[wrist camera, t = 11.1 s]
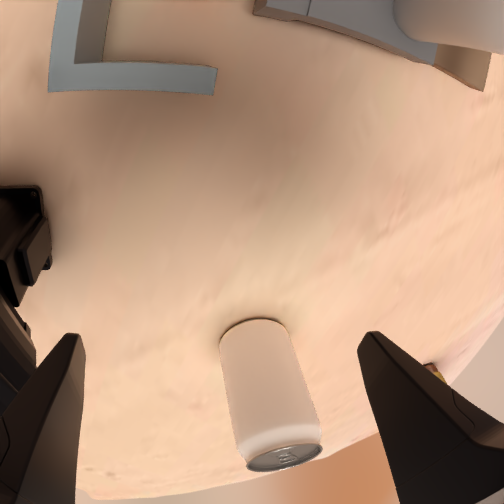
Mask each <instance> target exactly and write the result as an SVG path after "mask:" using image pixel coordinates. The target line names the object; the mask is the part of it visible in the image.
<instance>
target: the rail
mask: <svg viewBox="0 0 504 504" xmlns="http://www.w3.org/2000/svg"><path fill="white" fill-rule="evenodd" d="M491 54H492V53H491V52H488V51H483V50H478V49H473V48H467V47H461V46H454V45H447V44H440V43H438V46H437V51H436V55H435V60H434V64H433V65H431V66H433V67H435V68H437V69H439V70H441V71H443V72H444V73H446V74H448V75H450V76H452V77H453V78H455V79H457V80H459V81H460V82H462V83H464V84H465V85H467V86H469V87H470V88H472V89H476V90H479V91H482V92H483V91H484V87H485V82H486V78H487V73H488V69H489V64H490V59H491Z"/></svg>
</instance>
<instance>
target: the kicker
mask: <svg viewBox="0 0 504 504" xmlns="http://www.w3.org/2000/svg"><path fill="white" fill-rule="evenodd" d="M253 14H255V15H260V16H265V17H270V18H274V19H279V20H283V21H291V20H294V19H296V20H300V21H303V22H307V23H311V24H314V25H318V26H321V27H324V28H328V29H331V30H334V31H337V32H340V33H343V34H346V35H349V36H352V37H355V38H357V39H360V40H363V41H365V42H368V43H371V44H373V45H376V46H378V47H381V48H383V49H386V50H388V51H390V52H393V53H395V54H397V55H400V56H402V57H404V58H406V59H408V60H411V61H413V62H418V63H423V64H429V65H433V64H434V60H435V55H436V51H437V46H438V43H440V44H447V45H454V46H461V47H467V48H473V49H478V50H483V51H488V52H493V53H497V54H502V55H504V0H256V1H255V6H254V10H253Z"/></svg>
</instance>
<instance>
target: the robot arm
mask: <svg viewBox="0 0 504 504" xmlns="http://www.w3.org/2000/svg"><path fill="white" fill-rule="evenodd" d="M32 192H35V193H36V195H37V196H34V195H33V193H32ZM51 250H52V245H51V239H50V233H49V227H48V219H47V218H46V216H45V215H44V207H43V199H42V192H41V189H40V188H39V187H38V186H0V504H75V487H76V470H77V457H78V446H79V437H80V428H81V420H82V412H83V402H84V378H85V361H86V354H85V349H84V346H83V342H82V339H81V336H80V335H79V334H78V333H66V334H65V335H64V336H63V337H62V338H61V340H60V341H59V342H58V343H57V344H56V346H55V347H54V348H53V349H52V350H51V352H50V353H49V354H48V355H47V357H46V358H45V359H44V360H43V362H42V363H41V364H40V365H39V367H38V368H37V367H36V349H35V347H34V344H33V341H32V340H31V332H30V328H29V326H28V325H27V323H26V322H24V321H23V320H22V318H21V317H20V316H19V314H18V313H17V311H16V309H15V308H14V307H19V306H20V303H21V301H22V299H23V297H24V294H25V292H26V290H27V288H28V286H33V285H34V284H35V283H36V280H37V278H38V276H39V274H40V272H41V270H49V269H50V268H51V265H52V258H51V253H50V252H51ZM45 262H46V263H47V264H45ZM357 354H358V359H359V363H360V367H361V371H362V376H363V380H364V385H365V389H366V392H367V396H368V399H369V402H370V405H371V408H372V411H373V414H374V417H375V420H376V423H377V426H378V430H379V433H380V436H381V439H382V442H383V446H384V449H385V452H386V456H387V459H388V462H389V466H390V469H391V472H392V476H393V480H394V483H395V486H396V491H397V494H398V498H399V502H400V504H504V424H503V423H501V422H499V421H498V420H496V419H495V418H493V417H492V416H490V415H489V414H487V413H486V412H484V411H483V410H481V409H480V408H478V407H477V406H475V405H474V404H472V403H471V402H469V401H468V400H467V399H465V398H464V397H463V396H461V395H460V394H458V393H457V392H456V391H455V390H454V389H451V387H450V386H449V385H447V384H446V383H445V382H443V381H442V380H441V379H440V378H438V377H437V376H436V375H435V374H433V373H432V372H431V371H429V370H428V369H427V368H426V367H424V366H423V365H422V364H420V363H419V362H418V361H417V360H415V359H414V358H413V357H411V356H410V355H409V354H408V353H406V352H405V351H404V350H402V349H401V348H400V347H399V346H397V345H396V344H395V343H393V342H392V341H391V340H390V339H388V338H387V337H386V336H384V335H383V334H382V333H380V332H379V331H369V332H367V333H366V334H365V336H364V338H363V339H362V341H361V343H360V344H359V346H358V349H357Z"/></svg>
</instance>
